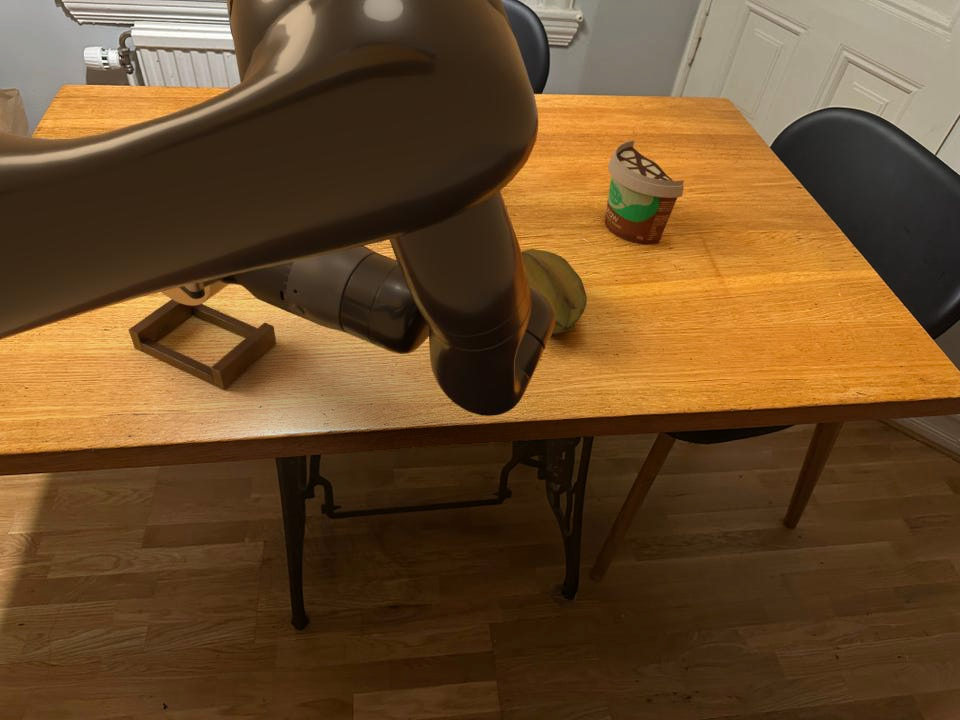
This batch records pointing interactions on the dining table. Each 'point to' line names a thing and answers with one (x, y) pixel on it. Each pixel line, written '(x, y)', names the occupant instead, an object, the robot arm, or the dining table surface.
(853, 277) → the dining table surface
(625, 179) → the food container
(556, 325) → the fruit
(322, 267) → the robot arm
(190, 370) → the holder
